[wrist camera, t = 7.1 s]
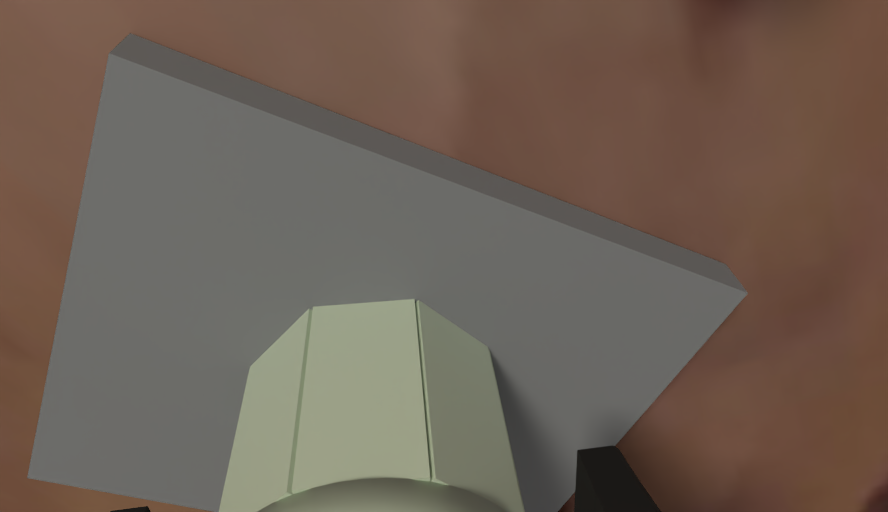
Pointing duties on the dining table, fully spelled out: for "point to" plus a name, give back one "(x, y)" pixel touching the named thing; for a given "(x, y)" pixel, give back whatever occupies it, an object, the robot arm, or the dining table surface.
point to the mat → (331, 282)
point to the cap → (372, 418)
